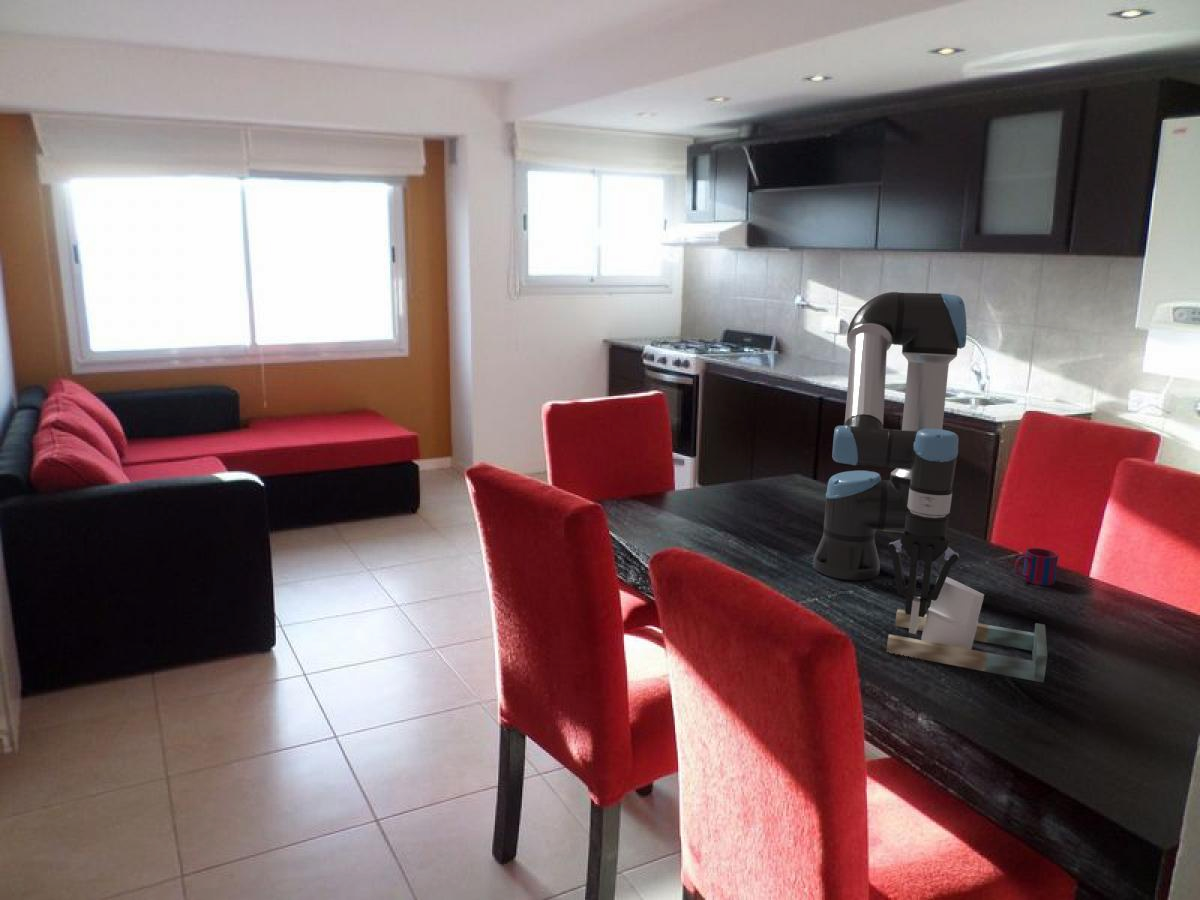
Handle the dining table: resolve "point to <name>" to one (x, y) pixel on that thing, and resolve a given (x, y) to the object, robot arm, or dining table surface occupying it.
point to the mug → (1038, 566)
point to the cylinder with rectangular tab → (953, 615)
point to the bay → (978, 658)
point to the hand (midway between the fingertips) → (913, 630)
